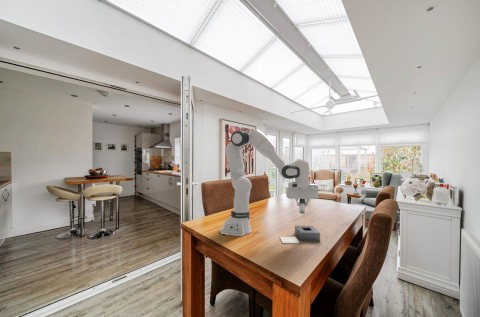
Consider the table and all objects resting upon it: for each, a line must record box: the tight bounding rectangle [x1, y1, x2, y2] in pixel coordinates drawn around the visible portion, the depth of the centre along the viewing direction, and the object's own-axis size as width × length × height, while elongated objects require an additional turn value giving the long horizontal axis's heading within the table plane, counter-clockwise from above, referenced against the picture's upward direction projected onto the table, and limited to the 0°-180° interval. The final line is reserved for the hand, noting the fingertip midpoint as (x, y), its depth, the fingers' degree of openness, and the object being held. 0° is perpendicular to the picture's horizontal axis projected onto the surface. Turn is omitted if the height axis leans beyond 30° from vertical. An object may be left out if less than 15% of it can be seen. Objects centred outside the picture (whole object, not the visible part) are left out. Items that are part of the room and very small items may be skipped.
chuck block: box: [294, 225, 321, 242], centre depth 113 cm, size 12×12×5 cm
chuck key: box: [298, 199, 306, 215], centre depth 113 cm, size 4×4×9 cm
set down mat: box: [279, 236, 300, 245], centre depth 107 cm, size 10×8×1 cm
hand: (302, 205), depth 113 cm, fingers closed on chuck key, 4 cm apart
